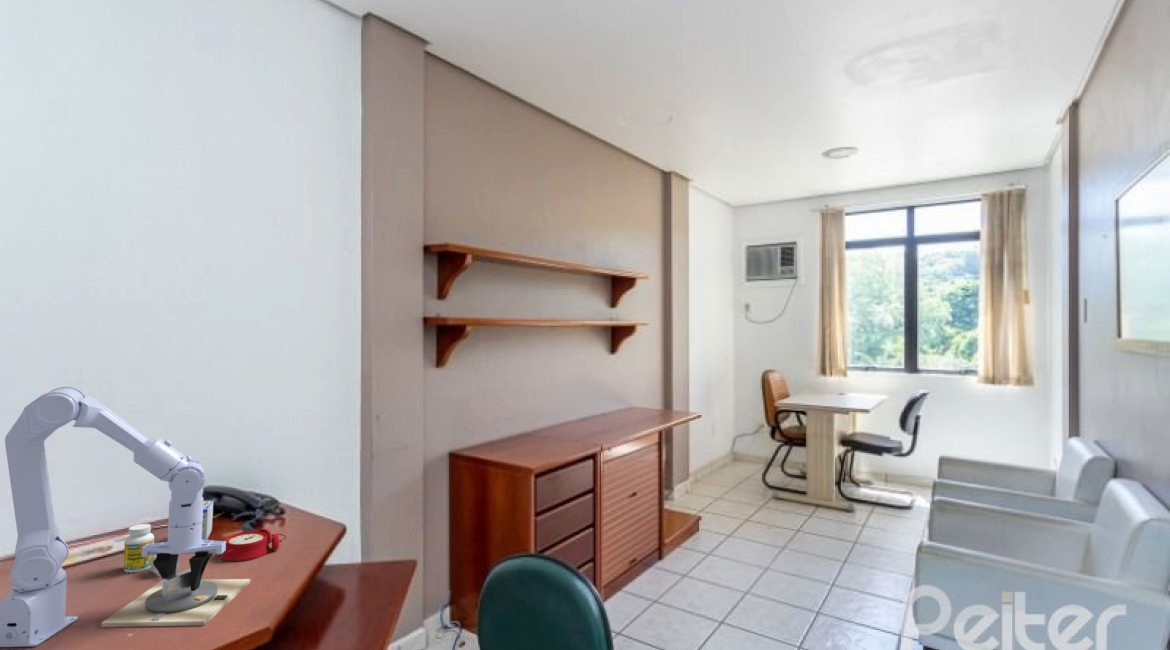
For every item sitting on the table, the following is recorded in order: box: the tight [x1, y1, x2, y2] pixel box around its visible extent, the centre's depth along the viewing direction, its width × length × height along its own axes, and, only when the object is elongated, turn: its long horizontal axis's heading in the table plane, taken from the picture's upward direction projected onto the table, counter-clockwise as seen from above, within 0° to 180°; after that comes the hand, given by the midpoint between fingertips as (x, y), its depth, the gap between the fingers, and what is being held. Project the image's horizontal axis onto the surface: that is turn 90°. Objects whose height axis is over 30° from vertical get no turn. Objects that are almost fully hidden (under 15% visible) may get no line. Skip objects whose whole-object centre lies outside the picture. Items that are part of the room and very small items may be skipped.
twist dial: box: [145, 567, 218, 613], centre depth 115 cm, size 12×12×5 cm
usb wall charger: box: [150, 555, 180, 578], centre depth 128 cm, size 4×7×4 cm, turn 55°
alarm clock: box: [220, 528, 287, 562], centre depth 142 cm, size 10×6×15 cm
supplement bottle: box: [123, 523, 155, 574], centre depth 130 cm, size 5×5×10 cm
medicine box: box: [202, 500, 214, 540], centre depth 149 cm, size 8×4×9 cm, turn 25°
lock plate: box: [100, 578, 251, 628], centre depth 115 cm, size 18×18×1 cm
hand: (182, 589), depth 115 cm, fingers closed on twist dial, 4 cm apart
